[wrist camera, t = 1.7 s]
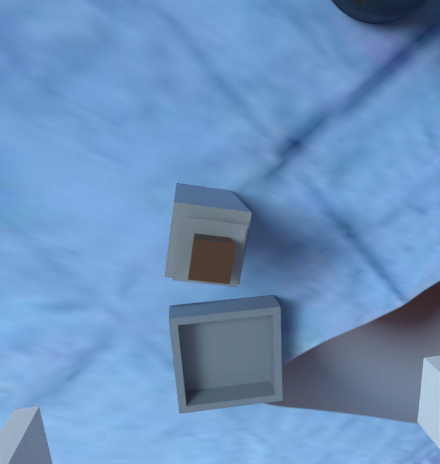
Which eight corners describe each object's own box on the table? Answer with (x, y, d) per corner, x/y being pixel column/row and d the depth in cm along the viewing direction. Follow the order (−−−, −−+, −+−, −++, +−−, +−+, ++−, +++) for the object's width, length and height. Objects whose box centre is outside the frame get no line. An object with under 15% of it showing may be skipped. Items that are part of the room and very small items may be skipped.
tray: (273, 294, 48) (280, 306, 44) (276, 383, 51) (282, 400, 48) (169, 305, 47) (168, 318, 43) (179, 395, 50) (179, 413, 47)
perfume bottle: (222, 242, 45) (247, 306, 28) (170, 236, 44) (161, 298, 27) (231, 190, 44) (263, 224, 26) (176, 183, 43) (172, 212, 25)
